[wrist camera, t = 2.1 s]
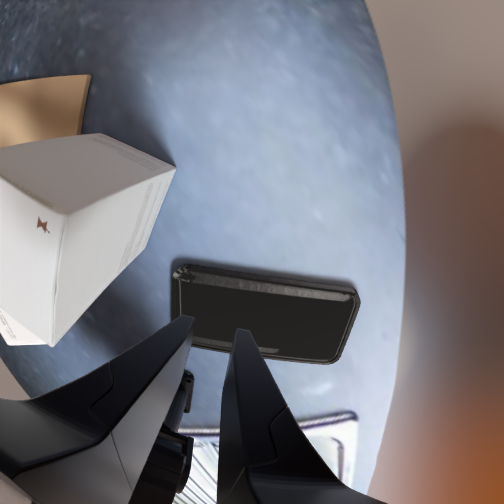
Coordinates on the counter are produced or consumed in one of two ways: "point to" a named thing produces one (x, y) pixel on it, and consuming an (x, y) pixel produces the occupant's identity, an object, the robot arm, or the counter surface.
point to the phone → (265, 313)
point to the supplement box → (72, 224)
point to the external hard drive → (16, 332)
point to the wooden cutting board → (42, 108)
